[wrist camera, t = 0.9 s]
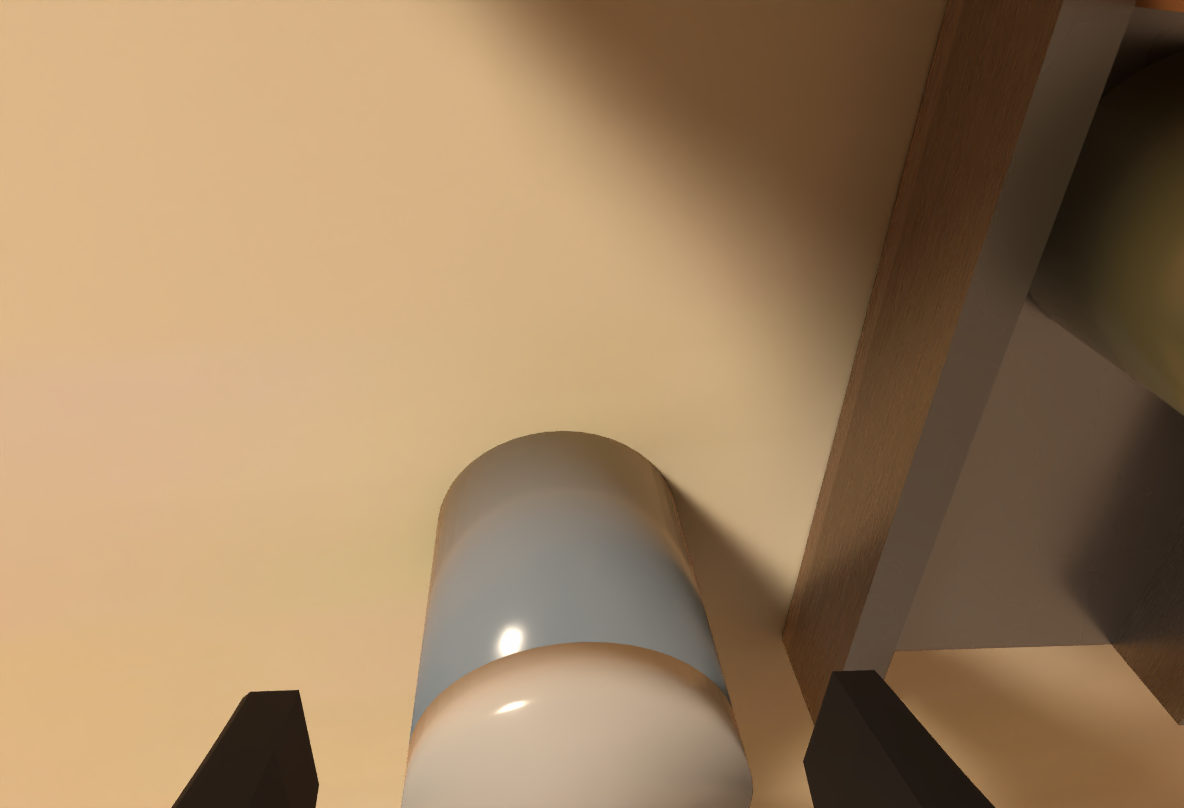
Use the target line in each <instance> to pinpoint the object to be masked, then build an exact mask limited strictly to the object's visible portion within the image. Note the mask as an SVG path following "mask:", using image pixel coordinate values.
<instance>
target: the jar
mask: <svg viewBox="0 0 1184 808" xmlns="http://www.w3.org/2000/svg"><path fill="white" fill-rule="evenodd" d="M752 794H753V787H752V777H751V773H750V769H749V766H748V762H747V759H746V755H745V752H744V748H743V745H742V741H741V737H740V734H739V730H738V727H737V723H736V720H735V716H734V712H733V709H732V705H731V702H730V698H729V695H728V691H727V687H726V684H725V680H724V677H723V673H722V670H721V666H720V662H719V659H718V655H717V652H716V648H715V645H714V641H713V637H712V634H711V630H710V627H709V623H708V620H707V616H706V612H705V609H704V605H703V602H702V598H701V595H700V591H699V588H698V584H697V580H696V577H695V573H694V570H693V566H692V563H691V559H690V555H689V552H688V548H687V545H686V541H685V538H684V534H683V530H682V527H681V523H680V520H679V516H678V513H677V509H676V505H675V502H674V498H673V495H672V492H671V490H670V488H669V486H668V484H667V482H666V480H665V479H664V478H663V476H662V475H661V473H660V472H659V471H658V470H657V469H656V468H655V466H654V465H653V464H652V463H651V462H650V461H648V460H647V459H646V458H645V457H643V456H642V455H641V454H640V453H638V452H636V451H635V450H633V449H631V448H630V447H628V446H626V445H624V444H622V443H619V442H617V441H615V440H612V439H609V438H606V437H602V436H599V435H595V434H589V433H583V432H570V431H556V432H543V433H537V434H531V435H527V436H523V437H520V438H516V439H513V440H511V441H508V442H506V443H503V444H501V445H498V446H496V447H495V448H493V449H491V450H489V451H487V452H486V453H484V454H482V455H481V456H480V457H478V458H477V459H476V460H474V461H473V462H471V463H470V464H469V465H468V466H467V467H466V468H465V469H464V470H463V471H462V472H461V473H460V474H459V476H458V477H457V478H456V479H455V481H454V482H453V483H452V485H451V486H450V488H449V490H448V492H447V493H446V495H445V497H444V500H443V503H442V505H441V508H440V513H439V518H438V525H437V532H436V540H435V548H434V556H433V563H432V571H431V579H430V587H429V594H428V602H427V610H426V618H425V625H424V633H423V641H422V649H421V656H420V664H419V672H418V680H417V687H416V695H415V703H414V711H413V718H412V726H411V734H410V742H409V749H408V757H407V765H406V773H405V780H404V788H403V796H402V804H401V808H750V805H751V800H752Z"/></svg>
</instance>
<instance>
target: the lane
mask: <svg viewBox="0 0 1184 808" xmlns="http://www.w3.org/2000/svg"><path fill="white" fill-rule="evenodd" d="M1136 1H1137V0H948V4H947V8H946V12H945V16H944V20H943V23H942V27H941V31H940V35H939V39H938V43H937V46H936V50H935V54H934V58H933V62H932V66H931V69H930V73H929V77H928V81H927V85H926V88H925V92H924V96H923V100H922V104H921V108H920V111H919V115H918V119H917V123H916V127H915V131H914V134H913V138H912V142H911V146H910V150H909V154H908V157H907V161H906V165H905V169H904V173H903V177H902V180H901V184H900V188H899V192H898V196H897V200H896V203H895V207H894V211H893V215H892V219H891V223H890V226H889V230H888V234H887V238H886V242H885V246H884V249H883V253H882V257H881V261H880V265H879V269H878V272H877V276H876V280H875V284H874V288H873V292H872V295H871V299H870V303H869V307H868V311H867V315H866V318H865V322H864V326H863V330H862V334H861V338H860V341H859V345H858V349H857V353H856V357H855V361H854V364H853V368H852V372H851V376H850V380H849V384H848V387H847V391H846V395H845V399H844V403H843V407H842V410H841V414H840V418H839V422H838V426H837V430H836V433H835V437H834V441H833V445H832V449H831V453H830V456H829V460H828V464H827V468H826V472H825V476H824V479H823V483H822V487H821V491H820V495H819V499H818V502H817V506H816V510H815V514H814V518H813V522H812V525H811V529H810V533H809V537H808V541H807V544H806V548H805V552H804V556H803V560H802V564H801V567H800V571H799V575H798V579H797V583H796V587H795V590H794V594H793V598H792V602H791V606H790V610H789V613H788V617H787V621H786V625H785V629H784V633H783V636H782V641H783V644H784V646H785V649H786V652H787V654H788V657H789V660H790V662H791V665H792V668H793V670H794V673H795V676H796V678H797V681H798V683H799V686H800V689H801V691H802V694H803V697H804V699H805V702H806V705H807V707H808V710H809V713H810V715H811V718H812V721H813V723H814V726H815V724H816V721H817V717H818V714H819V711H820V708H821V705H822V702H823V699H824V696H825V693H826V690H827V687H828V683H829V680H830V677H831V674H832V671H857V670H875V671H876V672H877V673H878V674H879V675H880V677H881V678H882V679H883V680H884V678H885V675H886V672H887V670H888V667H889V664H890V662H891V659H892V656H893V654H894V651H911V650H944V649H976V648H1008V647H1041V646H1073V645H1106V644H1111V645H1112V646H1113V647H1114V648H1115V649H1116V651H1117V652H1118V653H1119V654H1120V655H1121V656H1122V658H1123V659H1124V660H1125V661H1126V662H1127V664H1128V665H1129V666H1130V667H1131V668H1132V670H1133V671H1134V672H1135V673H1136V674H1137V676H1138V677H1139V678H1140V679H1141V680H1142V682H1143V683H1144V684H1145V685H1146V686H1147V688H1148V689H1149V690H1150V691H1151V692H1152V694H1153V695H1154V696H1155V697H1156V698H1157V700H1158V701H1159V702H1160V703H1161V704H1162V706H1163V707H1164V708H1165V709H1166V710H1167V712H1168V713H1169V714H1170V715H1171V716H1172V718H1173V719H1174V720H1175V721H1176V722H1177V724H1178V725H1184V416H1183V415H1182V414H1180V413H1179V412H1178V411H1176V410H1175V409H1174V408H1172V407H1171V406H1169V405H1168V404H1167V403H1165V402H1164V401H1163V400H1161V399H1160V398H1158V397H1157V396H1156V395H1154V394H1153V393H1152V392H1150V391H1149V390H1147V389H1146V388H1145V387H1143V386H1142V385H1141V384H1139V383H1138V382H1136V381H1135V380H1134V379H1132V378H1131V377H1130V376H1128V375H1127V374H1125V373H1124V372H1123V371H1121V370H1120V369H1119V368H1117V367H1116V366H1114V365H1113V364H1112V363H1110V362H1109V361H1108V360H1106V359H1105V358H1103V357H1102V356H1101V355H1099V354H1098V353H1097V352H1095V351H1094V350H1092V349H1091V348H1090V347H1088V346H1087V345H1086V344H1084V343H1083V342H1081V341H1080V340H1079V339H1077V338H1076V337H1075V336H1073V335H1072V334H1070V333H1069V332H1068V331H1066V330H1065V329H1064V328H1062V327H1061V326H1059V325H1058V324H1057V323H1055V322H1054V321H1053V320H1052V319H1050V318H1049V317H1048V316H1047V315H1046V314H1045V313H1044V312H1043V311H1042V310H1041V309H1040V307H1039V306H1038V305H1037V304H1036V302H1035V301H1034V299H1033V297H1032V295H1031V293H1030V291H1029V288H1030V286H1031V283H1032V280H1033V278H1034V275H1035V272H1036V270H1037V267H1038V264H1039V262H1040V259H1041V256H1042V254H1043V251H1044V248H1045V245H1046V243H1047V240H1048V237H1049V235H1050V232H1051V229H1052V227H1053V224H1054V221H1055V219H1056V216H1057V213H1058V211H1059V208H1060V205H1061V203H1062V200H1063V197H1064V194H1065V192H1066V189H1067V186H1068V184H1069V181H1070V178H1071V176H1072V173H1073V170H1074V168H1075V165H1076V162H1077V160H1078V157H1079V154H1080V152H1081V149H1082V146H1083V143H1084V141H1085V138H1086V135H1087V133H1088V130H1089V127H1090V125H1091V122H1092V119H1093V117H1094V114H1095V111H1096V109H1097V106H1098V103H1099V101H1100V100H1101V99H1102V98H1103V97H1104V96H1105V95H1106V94H1108V93H1109V92H1110V91H1111V90H1112V89H1114V88H1115V87H1116V86H1118V85H1119V84H1121V83H1122V82H1124V81H1125V80H1126V79H1128V78H1129V77H1131V76H1132V75H1134V74H1135V73H1137V72H1139V71H1141V70H1142V69H1144V68H1146V67H1148V66H1149V65H1151V64H1153V63H1155V62H1157V61H1159V60H1162V59H1164V58H1166V57H1169V56H1171V55H1173V54H1176V53H1178V52H1181V51H1184V13H1183V12H1175V11H1167V10H1159V9H1151V8H1143V7H1135V4H1136Z"/></svg>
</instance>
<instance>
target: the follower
mask: <svg viewBox="0 0 1184 808" xmlns="http://www.w3.org/2000/svg"><path fill="white" fill-rule="evenodd" d="M1135 7H1143V8H1151V9H1159V10H1167V11H1175V12H1183V13H1184V0H1137V1H1136V4H1135Z"/></svg>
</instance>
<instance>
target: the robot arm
mask: <svg viewBox="0 0 1184 808" xmlns="http://www.w3.org/2000/svg"><path fill="white" fill-rule="evenodd" d="M803 763H804V767H805V771H806V776H807V780H808V784H809V788H810V793H811V797H812V801H813V805H814V808H995V807H994V806H993V805H992V804H991V803H990V801H989V800H988V799H987V798H986V797H985V796H984V795H983V794H982V793H981V792H980V791H979V789H978V788H977V787H976V786H975V785H974V784H973V783H972V782H971V781H970V779H969V778H968V777H967V776H966V775H965V774H964V773H963V772H962V770H961V769H960V768H959V767H958V766H957V765H956V764H955V762H954V761H953V760H952V759H951V758H950V757H949V756H948V754H947V753H946V752H945V751H944V750H943V749H942V748H941V746H940V745H939V744H938V743H937V742H936V741H935V739H934V738H933V737H932V736H931V735H930V734H929V733H928V731H927V730H926V729H925V728H924V727H923V726H922V724H921V723H920V722H919V721H918V720H917V719H916V717H915V716H914V715H913V714H912V713H911V712H910V710H909V709H908V708H907V707H906V706H905V704H904V703H903V702H902V701H901V700H900V699H899V697H898V696H897V695H896V694H895V693H894V692H893V690H892V689H891V688H890V687H889V686H888V685H887V683H886V682H885V681H884V680H883V679H882V678H881V677H880V675H879V674H878V673H877V672H876V671H875V670H857V671H832V674H831V677H830V680H829V683H828V687H827V690H826V693H825V696H824V699H823V702H822V705H821V708H820V711H819V714H818V717H817V721H816V724H815V727H814V730H813V733H812V736H811V739H810V742H809V745H808V748H807V751H806V754H805V758H804V761H803ZM318 788H319V782H318V778H317V773H316V768H315V764H314V759H313V754H312V749H311V745H310V740H309V735H308V731H307V726H306V721H305V717H304V712H303V707H302V702H301V698H300V693H299V690H288V691H260V692H250V693H248V694H247V695H246V696H245V697H243V698H242V700H241V702H240V703H239V705H238V707H237V708H236V710H235V711H234V713H233V715H232V716H231V718H230V720H229V721H228V723H227V724H226V726H225V728H224V729H223V731H222V732H221V734H220V735H219V737H218V739H217V740H216V742H215V743H214V745H213V746H212V748H211V749H210V751H209V753H208V754H207V756H206V757H205V759H204V760H203V762H202V763H201V765H200V766H199V768H198V769H197V771H196V772H195V774H194V775H193V777H192V778H191V780H190V781H189V783H188V784H187V786H186V787H185V788H184V790H183V791H182V793H181V794H180V796H179V797H178V799H177V800H176V802H175V803H174V805H173V806H172V808H315V807H316V801H317V794H318Z"/></svg>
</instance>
